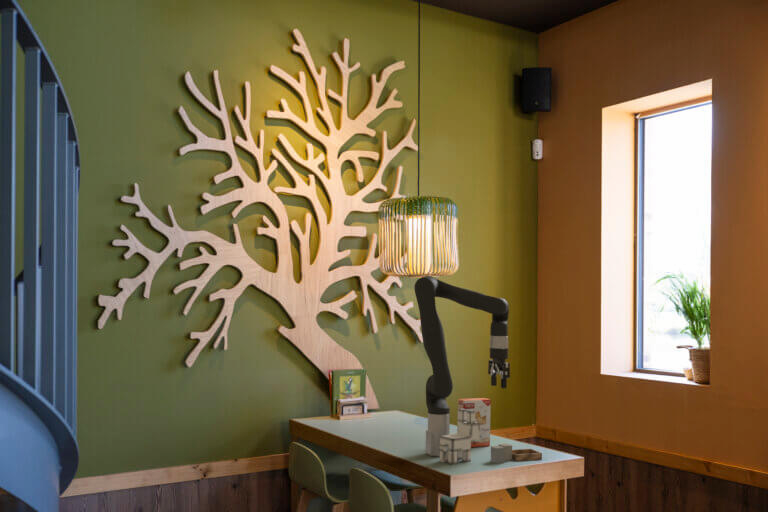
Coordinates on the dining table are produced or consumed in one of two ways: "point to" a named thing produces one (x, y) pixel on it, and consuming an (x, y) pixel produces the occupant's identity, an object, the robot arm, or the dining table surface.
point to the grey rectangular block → (497, 454)
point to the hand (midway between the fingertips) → (498, 387)
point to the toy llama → (460, 439)
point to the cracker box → (479, 417)
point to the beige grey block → (507, 451)
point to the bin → (526, 454)
